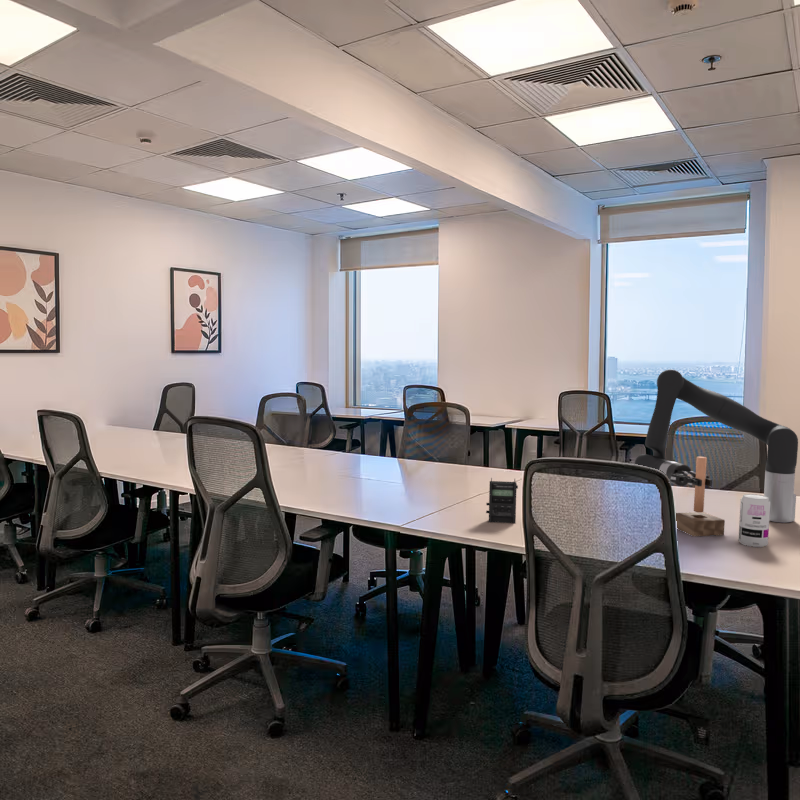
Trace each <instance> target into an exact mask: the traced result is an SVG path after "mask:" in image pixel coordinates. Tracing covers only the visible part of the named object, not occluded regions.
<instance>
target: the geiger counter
mask: <svg viewBox="0 0 800 800" xmlns="http://www.w3.org/2000/svg"><path fill="white" fill-rule="evenodd" d="M517 489H519V485H518V484H517V482H516V478H514V481H500V480H498V481H497V480H496V481H495V480H493V478H492V477H491V478H490V481H489V489H488V491H489V492H488V493H489V495H488V496H489V497H488V498H489V499H488V502H486V505H485V506H488V510H486V511H485V514H488V523H501V524H502V523H503V524H516V521H517V519H516V518H517Z"/></svg>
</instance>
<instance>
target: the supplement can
mask: <svg viewBox="0 0 800 800" xmlns="http://www.w3.org/2000/svg"><path fill="white" fill-rule="evenodd" d="M769 517H770V501H769V499H768V497H767V496H764V494H763V495H762V494H754V493H746V494H745V493H744V494H743V495H742V497H741V499H740V504H739V522H738V524H739V526H738V541H739V542H740V544H741V545H744V546H746V545H747V546H746V547H751V546H753V547H752V548H764V547H763V546H765V547H766V546H767V545H769V531H770V521H769Z"/></svg>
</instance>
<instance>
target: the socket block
mask: <svg viewBox="0 0 800 800" xmlns="http://www.w3.org/2000/svg"><path fill="white" fill-rule="evenodd" d="M675 513H676V521H677V528H678V529H679V530H678V529H677V530H678V531H680V530H681V532H682V531H684V532H683V533H685V532H686V533H685V534H687V533H688V534H687V535H689V534H690V535H689V536H691V535H692V537H711V536H710V535H716V536H725V524H726V523H725V521H726V520H725V519H723V518H720V517H718V516H715V515H713V514H710V513H707V512H705V511H703V512H695V511H692V512H690V511H689V512H675Z"/></svg>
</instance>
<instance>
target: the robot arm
mask: <svg viewBox="0 0 800 800" xmlns="http://www.w3.org/2000/svg"><path fill="white" fill-rule="evenodd" d="M656 387H657V390H656V391H657V394H656V401H655V405H654V410H653V412H652V416H651V419H650V421H649V422H650V423H649V425H648V428H647V433H646V436H645V437H646V438H645V442H644V445H645V447H646V448H648V449H650V450H652V454H647V453H646V454H645V453H641V454H639V455H637V456H636V458H635V460H634V465H635V464H638V465H643V466H648V467H652V468H655V469H658V470H661V471H663V472H664V473H665V474H666V475H667V476H668V478H669V479H670V482H671V483H670V482H669V483H670V484H673V485H676V486H678V487H685V486H687V485H690V486H692V485H694V486H695V485H696V486H702V480H701V479H698V478H696V471H693V470H692V469H691V467H690V466H688V465H686V464H684V463H681V462H677V461H671V460H668V459H666V443H667V438H668V434H669V431H670V424H671V420H672V414H673V410H674V407H675V404H676V401H677V400H679V401H683V402H685V403H686V404H689V405H690V406H691V407H694V408H695V409H696V410H698V411H699V412H701V413H702V414H704V415H705V416H706V417H707V416H708V417H709V418H711V419H712V420H715V421H717V422H718V423H721V424H722V425H724V426H726V427H730V428H732V429H735V430H737V431H740V432H744V433H747V434H749V435H751V436H752V437H754V438H756V439H757V440H759V441H760V442H763V443H764V444H765V445H766V446H767V453H766V454H767V455H766V456H767V457H766V461H765V462H766V463H765V469H764V471H765V472H764V487H763V488H764V490H763V496H767V497H768V499H769V501H770V517H769V522H774V523H782V524H783V523H785V524H787V523H791V522H795V521H796V504H797V494H796V493H795V478H796V477H795V476H796V468H797V463H798V452H799V437H798V435H797V434H796V432H795V431H793V430H792V429H791V428H790V427H788V426H786V425H782V424H779V423H776V422H774V421H771V420H769V419H767V418H764V417H762V416H760V415H759V414H757V413H755V412H754V411H753V410H751V409H750V408H748V407H746V406H745V405H743V404H742V403H740V402H738V401H736V400H734V399H732V398H730V397H727V396H726V395H724V394H721V393H719V392H716V391H713V390H711V389H707V388H704V387H702V386H699V385H697V384H695V383H694V382H692V381H690V380H688V379H686V377H684V376H683V374H681V372H679V371H678V370H676V369H665V370H664V371H662V372H660V374H659V375H658V376H657V379H656ZM712 485H713V480H712V478H711V477H710V475H709V474H707V473H706V478H705V486H707V487H712Z"/></svg>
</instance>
